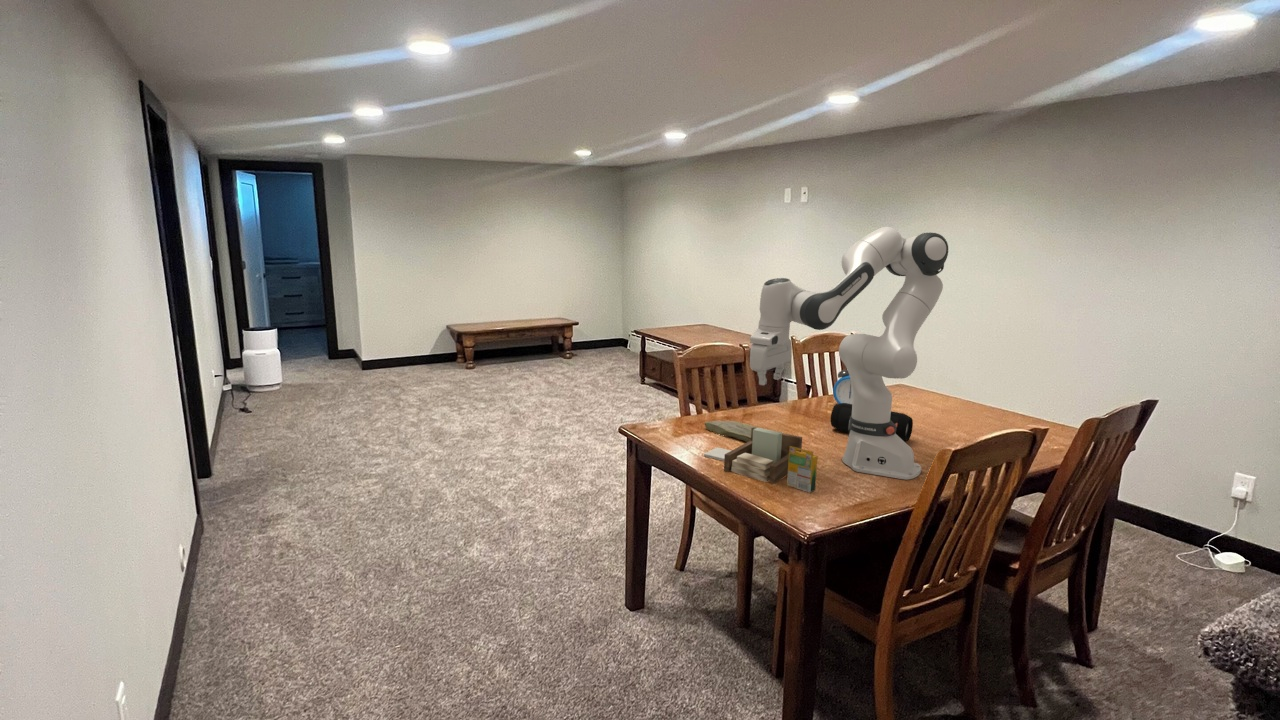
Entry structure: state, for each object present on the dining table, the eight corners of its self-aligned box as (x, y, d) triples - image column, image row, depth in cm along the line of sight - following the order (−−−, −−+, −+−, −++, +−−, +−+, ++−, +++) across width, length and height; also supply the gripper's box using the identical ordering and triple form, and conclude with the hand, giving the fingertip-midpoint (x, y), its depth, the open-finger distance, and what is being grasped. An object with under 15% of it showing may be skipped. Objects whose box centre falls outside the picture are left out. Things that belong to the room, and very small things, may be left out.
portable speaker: (828, 432, 235) (830, 404, 233) (839, 425, 242) (841, 399, 240) (903, 447, 220) (906, 418, 218) (912, 440, 227) (915, 412, 225)
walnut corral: (800, 465, 201) (802, 437, 199) (774, 483, 187) (776, 453, 185) (752, 454, 210) (753, 426, 208) (723, 470, 196) (725, 441, 194)
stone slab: (723, 416, 242) (795, 432, 221) (722, 427, 243) (794, 444, 222) (701, 422, 233) (773, 439, 212) (700, 433, 234) (773, 452, 213)
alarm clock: (831, 406, 267) (834, 370, 264) (835, 403, 272) (837, 367, 269) (865, 411, 261) (868, 374, 258) (868, 408, 266) (871, 371, 263)
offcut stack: (774, 478, 192) (776, 460, 190) (765, 482, 188) (766, 465, 187) (740, 467, 199) (741, 451, 198) (731, 472, 195) (732, 455, 194)
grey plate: (747, 456, 208) (747, 454, 208) (735, 464, 201) (735, 461, 201) (716, 449, 214) (716, 447, 214) (703, 456, 208) (704, 453, 208)
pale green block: (780, 468, 199) (782, 432, 197) (775, 471, 196) (777, 435, 194) (755, 462, 203) (757, 427, 201) (751, 464, 201) (753, 429, 199)
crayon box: (815, 489, 183) (818, 449, 181) (810, 493, 181) (813, 452, 178) (791, 482, 188) (794, 443, 185) (786, 485, 185) (789, 445, 183)
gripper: (778, 330, 203) (775, 374, 205) (747, 337, 186) (744, 386, 189) (798, 332, 199) (795, 377, 202) (767, 340, 183) (764, 389, 185)
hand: (770, 381), depth 195 cm, fingers open, 8 cm apart
